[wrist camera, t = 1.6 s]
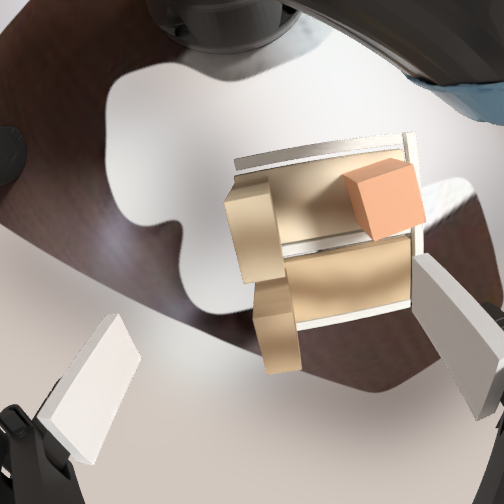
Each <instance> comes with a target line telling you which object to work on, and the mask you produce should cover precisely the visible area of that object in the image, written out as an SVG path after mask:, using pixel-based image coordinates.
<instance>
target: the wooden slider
mask: <svg viewBox="0 0 504 504" xmlns="http://www.w3.org/2000/svg"><path fill="white" fill-rule="evenodd" d="M388 158H393V159H397V160H401V161H404V162H405V160H404V152H403V150H402V149H393V150H383V151H376V152H368V153H360V154H353V155H347V156H340V157H334V158H328V159H321V160H314V161H308V162H302V163H297V164H291V165H286V166H281V167H275V168H270V169H265V170H260V171H255V172H250V173H245V174H240V175H236V176H234V181H235V184H234V185H233V187H232V189H231V191H230V192H229V194H228V196H227V198H226V200H225V201H224V206H225V210H226V214H227V218H228V223H229V227H230V231H231V235H232V239H233V243H234V247H235V251H236V255H237V259H238V263H239V267H240V271H241V275H242V279H243V283H244V284H247V283H252V282H259V281H264V280H270V279H276V278H281V277H286V276H285V268H284V261H283V253H282V245H281V244H284V243H289V242H295V241H300V240H305V239H311V238H316V237H322V236H327V235H333V234H338V233H344V232H349V231H354V230H360V229H362V228H361V227H360V226H359V225H358V223H357V220H356V216H355V213H354V210H353V206H352V203H351V200H350V197H349V194H348V190H347V187H346V184H345V181H344V178H343V175H342V174H343V173H346V172H349V171H352V170H355V169H358V168H361V167H364V166H367V165H370V164H373V163H376V162H379V161H382V160H385V159H388Z"/></svg>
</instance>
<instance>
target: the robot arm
mask: <svg viewBox="0 0 504 504" xmlns="http://www.w3.org/2000/svg"><path fill="white" fill-rule="evenodd" d="M146 5H147V9H148V11H149V14H150V16H151V17H152V19H153V21H154V22H155V24H156V25H157V26H158V27H159V28H160V29H161V30H162V31H163V32H164V33H165V34H166V35H168V36H169V37H170V38H171V39H172V40H174V41H175V42H177V43H179V44H180V45H182V46H185V47H187V48H189V49H192V50H195V51H199V52H204V53H211V54H233V53H240V52H245V51H249V50H253V49H256V48H259V47H262V46H264V45H266V44H268V43H270V42H272V41H274V40H276V39H277V38H279V37H280V36H282V35H283V34H284V33H286V32H287V31H288V30H289V29H290V28H291V27H292V26H293V25H294V24H295V22H296V21H297V20H298V18H299V17H300V15H301V13H302V12H303V13H305V14H307V15H309V16H312V17H314V18H316V19H318V20H320V21H322V22H324V23H326V24H327V25H329V26H331V27H333V28H335V29H337V30H339V31H341V32H342V33H344V34H346V35H348V36H349V37H351V38H353V39H354V40H356V41H358V42H359V43H361V44H362V45H364V46H366V47H367V48H369V49H370V50H372V51H373V52H375V53H376V54H378V55H379V56H381V57H382V58H384V59H385V60H387V61H389V62H390V63H391V64H393V65H394V66H395V67H397V68H398V69H400V70H401V72H402V73H403V74H404V75H405V76H406V77H407V78H408V79H409V80H410V81H411V82H413V83H414V84H416V85H418V86H420V87H423V88H425V89H428V90H430V91H431V92H433V93H434V94H435V95H437V96H438V97H440V98H441V99H442V100H443V101H445V102H446V103H447V104H448V105H450V106H451V107H452V108H454V109H455V110H456V111H458V112H459V113H461V114H462V115H464V116H466V117H468V118H470V119H472V120H475V121H478V122H489V123H492V124H496V125H500V126H504V0H146ZM412 312H413V314H414V315H415V317H416V318H417V320H418V321H419V323H420V324H421V326H422V328H423V329H424V331H425V332H426V334H427V335H428V337H429V339H430V340H431V342H432V344H433V345H434V347H435V348H436V350H437V352H438V353H439V355H440V357H441V358H442V360H443V361H444V363H445V365H446V367H447V368H448V370H449V372H450V374H451V375H452V377H453V379H454V381H455V382H456V384H457V386H458V387H459V390H460V391H461V393H462V395H463V397H464V399H465V401H466V402H467V404H468V406H469V408H470V410H471V412H472V414H473V416H474V418H475V420H476V421H478V420H480V419H483V418H485V417H487V416H489V415H491V414H493V413H495V411H496V409H497V407H498V405H499V402H500V401H501V403H502V405H503V406H504V312H503V311H502V310H501V309H500V308H499V307H497V306H495V305H493V304H491V303H489V302H485V303H482V304H479V303H478V302H477V301H476V300H475V299H474V298H473V297H472V296H471V295H470V294H469V293H468V292H467V291H466V290H465V289H464V288H463V287H462V286H461V285H460V284H459V283H458V282H457V281H456V280H455V279H454V278H453V277H452V276H451V275H450V274H449V273H448V272H447V271H446V270H445V269H444V268H443V267H442V266H441V265H440V264H439V263H438V262H437V261H436V260H435V259H434V258H433V257H432V256H430V255H429V254H428V253H425V254H421V255H417V256H413V257H412ZM141 359H142V358H141V356H140V354H139V352H138V350H137V349H136V347H135V345H134V343H133V341H132V339H131V337H130V335H129V333H128V331H127V329H126V327H125V325H124V323H123V321H122V319H121V318H120V315H119V313H118V314H111V315H106V316H105V317H104V319H103V320H102V321H101V323H100V324H99V325H98V327H97V328H96V330H95V331H94V332H93V334H92V335H91V336H90V338H89V339H88V341H87V342H86V344H85V345H84V346H83V348H82V349H81V350H80V352H79V353H78V355H77V356H76V358H75V359H74V360H73V362H72V363H71V365H70V366H69V368H68V369H67V371H66V372H65V374H64V375H63V376H62V377H61V378H60V379H59V380H58V381H57V382H56V384H55V385H54V387H53V389H52V391H50V393H49V395H48V396H47V397H48V398H46V399H45V400H44V402H43V404H42V405H41V407H40V408H39V410H38V411H37V413H36V415H35V416H34V418H33V419H32V421H31V419H30V418H29V417H28V416H27V415H26V413H25V412H24V411H23V410H22V409H21V407H20V406H19V405H17V404H13V405H10V406H8V407H6V408H5V409H3V411H2V412H1V413H0V426H1V427H2V428H3V430H4V431H5V432H6V433H4V432H3V431H2V430H1V429H0V504H85V502H84V499H83V496H82V493H81V490H80V487H79V484H78V481H77V478H76V475H75V471H74V468H73V465H72V463H71V462H70V461H69V460H68V458H69V456H70V454H71V455H72V456H73V457H74V458H75V459H76V460H77V461H78V462H79V463H83V464H88V465H94V463H95V461H96V459H97V456H98V454H99V451H100V449H101V447H102V444H103V442H104V440H105V438H106V435H107V433H108V431H109V428H110V426H111V424H112V422H113V419H114V417H115V415H116V413H117V410H118V408H119V406H120V404H121V401H122V399H123V397H124V395H125V393H126V391H127V389H128V386H129V384H130V382H131V380H132V378H133V376H134V374H135V371H136V369H137V367H138V365H139V363H140V361H141ZM496 428H499V429H498V433H497V437H496V440H495V443H494V447H493V450H492V453H491V456H490V459H489V462H488V465H487V468H486V471H485V474H484V476H483V479H482V482H481V484H480V486H479V489H478V492H477V494H476V496H475V499H474V501H473V503H472V504H504V412H503V414H502V416H501V418H500V420H499V422H498V424H497V426H496ZM2 466H3V467H4V468H5V469H6V470H7V471H8V472H9V473H10V474H11V476H10V478H8V477H7V476H5V475H4V474H3V473H2V472H1V469H2Z"/></svg>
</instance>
